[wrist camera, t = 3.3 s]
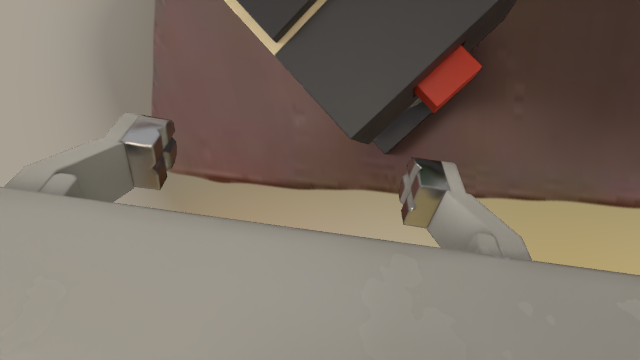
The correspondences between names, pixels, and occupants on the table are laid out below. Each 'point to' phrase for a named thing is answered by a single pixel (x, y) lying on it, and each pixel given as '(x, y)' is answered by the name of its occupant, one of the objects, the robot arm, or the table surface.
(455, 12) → the coffee maker
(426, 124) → the table surface
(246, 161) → the table surface
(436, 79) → the power button
